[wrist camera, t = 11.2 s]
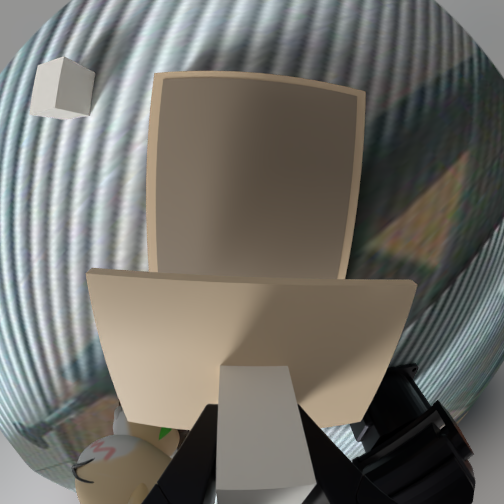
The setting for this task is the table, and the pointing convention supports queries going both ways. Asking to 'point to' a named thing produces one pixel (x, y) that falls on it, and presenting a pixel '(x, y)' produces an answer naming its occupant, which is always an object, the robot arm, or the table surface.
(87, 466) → the kitten
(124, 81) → the table surface
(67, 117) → the white block
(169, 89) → the carton
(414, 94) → the table surface
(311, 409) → the flap near
